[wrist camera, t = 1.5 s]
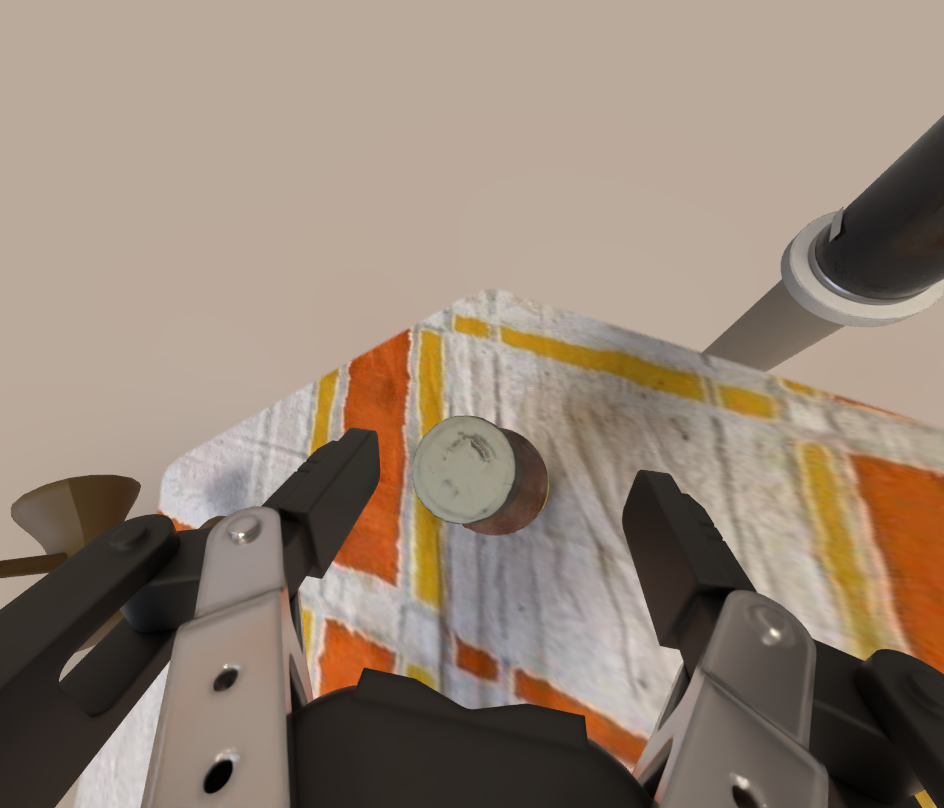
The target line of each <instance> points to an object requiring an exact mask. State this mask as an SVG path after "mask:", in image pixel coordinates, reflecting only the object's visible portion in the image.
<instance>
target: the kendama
mask: <svg viewBox="0 0 944 808" xmlns="http://www.w3.org/2000/svg"><path fill="white" fill-rule="evenodd" d="M140 488H141V485H140V483H139V482H137V481H136V480H134V479H133V478H129V477H123V476H117V475H88V476H81V477H73V478H68V479H64V480H60V481H57V482H53V483H50V484H46V485H44V486H41V487H39V488H37V489H35V490H33V491H31V492H29V493H26V494H24V495H23V496H22V497H20V498H19V499H18V500H17V501H16V502H15V503H14V504H12V507H11V516H12V518H13V520H14V521H15V522H16V523H17V524H18V525H19V526H20V527H22V528H23V529H24V530H25V531H26V532H28V533H29V534H30V535H31V536H32V537H34V538H35V539H36V540H37V541H38V542H39V543H40V544H41V545H42V547H43V548H44V549H45V552H46V554H47V555H43V556H35V557H27V558H19V559H11V560H3V561H0V578H6V577H15V576H25V575H34V574H43V573H50V572H51V571H53V570H54V569H55V568H57V567H58V566H59V565H61V564H62V563H63V562H65V561H66V560H67V559H69V558H70V557H71V556H73V555H74V554H75V553H77V552H78V551H79V550H81V549H82V548H83V547H85V546H86V545H87V544H89V543H90V542H91V541H93V540H94V539H95V538H97V537H98V536H99V535H101V534H102V533H104V532H105V531H107V530H108V529H110V528H112V527H114V526H116V525H118V524H120V523H122V522H124V521H125V518H126V516H127V514H128V513H129V511H130V509H131V507H132V506H133V504H134V503H135V501H136V499H137V497H138V494H139V491H140ZM226 517H227V516H217V517H214V518H212V519H209V520H208V521H206V522H205V523H204V524H203V525H202V526H201V527H200V528H199V529H206V528H214V527H215V526H216V525H217V524H218V523H219V522H220V521H221V520H223V519H224V518H226ZM123 618H124V615H123V614H122V612H121V611H120V609H119V610H118V611H117V612H116V613H115V614H114V615H113V616H112V617H111V618H110V619H109V620H108V621H107V622H106V623H105V624H104V625H103V626H102V627H101V628H100V629H99V630H97V631H96V632H95V633H94V634H93V635H92V636H91V637H90V638H89V639H88V640H87V641H86V642H85V643H84V644H83V645H82V646H81V647H80V648H79V649H78V650H77V651H76V652H78V651H81V650H84V649H86V648H89V647H92V646H94V645H96V644H98V643H99V642H100V641H101V640H102V639H103V638H104V637H105V636H106V635H107V634H108V633H109V632H110V631H111V630H112V629H113V628H114V627H115V626H116V625H117V624H118V623H119V622H120V621H121V620H122V619H123Z"/></svg>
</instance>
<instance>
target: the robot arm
mask: <svg viewBox="0 0 944 808" xmlns="http://www.w3.org/2000/svg"><path fill="white" fill-rule="evenodd" d="M808 263H809V266H810V269H811V271H812V273H813V275H814V276H815V278H816V279H817V280H818V281H819V282H820V283H821V284H822V285H823V286H824V287H825V288H827V289H828V290H829V291H831V292H832V293H834V294H836V295H838V296H840V297H842V298H844V299H847V300H850V301H853V302H857V303H861V304H867V305H891V304H897V303H901V302H904V301H907V300H910V299H912V298H914V297H916V296H917V295H919V294H921V293H923V292H925V291H926V290H928V289H929V288H930V287H931V286H933V285H935V284H936V283H938V282H940V281H942V280H944V115H943V116H942V117H941V118H940V119H939V120H938V121H937V122H936V123H935V124H934V125H933V126H932V127H931V128H930V129H929V130H928V131H927V132H926V133H925V134H924V135H922V136H921V137H920V138H919V139H918V140H917V141H916V142H915V143H914V144H913V145H912V146H911V147H910V148H909V149H908V150H907V151H906V152H905V153H904V154H903V155H902V156H901V157H899V159H897V160H896V161H895V162H894V163H893V164H892V165H891V166H890V167H889V168H888V169H887V170H886V171H885V172H884V173H883V174H882V175H881V176H880V177H879V178H878V179H877V180H875V182H873V183H872V184H871V185H870V186H869V187H868V188H867V189H866V190H865V191H864V192H863V193H862V194H861V195H860V196H859V197H858V198H857V199H855V200H854V201H853V202H852V203H851V204H850V205H849V206H848V207H847V208H846V209H845V210H844V211H843V207H842V208H841V209H840V210H839V211H838V212H837V213H836V214H835V215H834V216H833V220H832V222H831V223H830V224H828V225H827V226H826V227H825V228H823V229H822V230H821V231H820V232H819V233H818V234H817V235H816V236H815V237H814V239H813V240H812V242H811V244H810V246H809V250H808ZM379 478H380V458H379V445H378V435H377V432H376V431H373V430H366V429H359V428H350V429H349V430H348V431H347V432H346V433H345V434H344V435H343V437H342V438H341V439H340V440H339V441H331V442H329V443H327V444H326V445H324V446H322V447H320V448H318V449H317V450H316V451H315V452H314V453H313V454H312V455H311V456H310V457H309V458H308V459H307V461H306V462H304V463H303V464H302V465H301V466H300V467H299V468H298V471H297V472H296V471H295V472H294V473H293V474H292V475H291V476H290V477H289V478H288V479H287V480H286V481H285V482H284V484H283V485H282V486H281V487H280V488H279V489H278V490H277V491H276V492H275V493H274V494H273V495H272V496H271V497H270V498H269V499H268V500H267V501H266V502H265V503H264V504H263V505H262V506H261V507H250V508H246V509H243V510H240V511H237V512H235V513H233V514H231V515H229V516H227V517H226V518H224V519H223V520H221V521H220V522H219V523H218V524H217V525H216V526H215V527H214V528H206V529H195V530H185V531H176V529H175V526H174V524H173V522H172V520H171V519H170V518H169V517H167V516H165V515H158V514H153V515H144V516H140V517H136V518H133V519H130V520H127V521H124V522H122V523H120V524H118V525H116V526H114V527H112V528H110V529H108V530H107V531H105V532H104V533H102V534H101V535H99V536H98V537H97V538H95V539H94V540H93V541H91V542H90V543H89V544H87V545H86V546H85V547H83V548H82V549H81V550H79V551H78V552H77V553H75V554H74V555H73V556H71V557H70V558H69V559H67V560H66V561H65V562H63V563H62V564H61V565H59V566H58V567H57V568H55V569H54V570H53V571H51V572H50V573H49V574H47V575H46V576H45V577H43V578H42V579H41V580H39V581H38V582H37V583H35V584H34V585H33V586H31V587H30V588H29V589H27V590H26V591H25V592H23V593H22V594H21V595H19V596H18V597H17V598H15V599H14V600H13V601H12V602H10V603H9V604H7V605H6V606H5V607H3V608H2V609H1V610H0V808H55V807H56V805H57V804H58V803H59V801H60V800H61V799H62V798H63V796H64V795H65V794H66V793H67V791H68V790H69V789H70V787H71V786H72V785H73V784H74V782H75V781H76V780H77V778H78V777H79V776H80V775H81V773H82V772H83V771H84V770H85V768H86V767H87V766H88V764H89V763H90V762H91V761H92V759H93V758H94V757H95V755H96V754H97V753H98V752H99V750H100V749H101V748H102V747H103V745H104V744H105V743H106V741H107V740H108V739H109V738H110V736H111V735H112V734H113V732H114V731H115V730H116V729H117V727H118V726H119V725H120V724H121V722H122V721H123V720H124V718H125V717H126V716H127V715H128V713H129V712H130V711H131V709H132V708H133V707H134V706H135V704H136V703H137V702H138V701H139V699H140V698H141V697H142V695H143V694H144V693H145V692H146V690H147V689H148V688H149V686H150V685H151V684H152V683H153V681H154V680H155V679H156V678H157V676H158V675H159V674H160V672H161V671H162V670H163V669H164V667H165V666H166V665H167V663H168V662H169V661H170V665H169V670H168V675H167V680H166V685H165V690H164V695H163V700H162V705H161V710H160V715H159V720H158V725H157V730H156V735H155V739H154V744H153V749H152V754H151V759H150V764H149V769H148V774H147V779H146V784H145V789H144V794H143V799H142V804H141V808H922V807H921V805H920V804H919V802H918V801H917V799H916V797H915V796H914V795H915V794H917V793H919V792H921V791H923V790H926V791H927V793H928V794H929V796H930V797H931V799H932V800H933V802H934V803H935V805H936V806H937V808H944V674H942V673H941V672H939V671H938V670H936V669H935V668H933V667H931V666H930V665H928V664H926V663H924V662H923V661H921V660H919V659H916V658H914V657H912V656H910V655H907V654H905V653H902V652H899V651H895V650H890V649H881V650H878V651H876V652H875V653H874V654H872V655H871V656H870V657H869V658H868V659H867V660H866V661H863V660H861V659H859V658H856V657H854V656H852V655H849V654H847V653H845V652H842V651H840V650H838V649H835V648H833V647H831V646H828V645H826V644H824V643H821V642H819V641H817V640H815V639H813V638H812V637H811V635H810V634H809V632H808V631H807V629H806V628H805V627H804V626H803V625H802V623H801V622H800V621H799V620H798V619H797V618H796V617H795V616H794V615H793V614H791V613H790V612H789V611H788V610H787V609H785V608H784V607H783V606H781V605H780V604H778V603H777V602H775V601H773V600H772V599H770V598H768V597H766V596H764V595H761V594H759V593H757V591H756V590H755V588H754V586H753V585H752V583H751V582H750V580H749V579H748V577H747V575H746V574H745V572H744V571H743V569H742V567H741V566H740V564H739V563H738V561H737V560H736V558H735V556H734V555H733V553H732V552H731V550H730V548H729V547H728V545H727V544H726V542H725V541H723V540H722V539H723V537H722V536H721V534H720V533H719V531H718V529H717V528H715V527H714V523H713V522H712V520H711V518H710V517H709V515H708V514H707V512H706V510H705V509H704V508H703V507H702V506H701V505H700V504H699V503H697V502H696V501H695V500H694V499H693V498H692V497H691V496H690V495H689V494H684V493H681V491H680V490H679V488H678V486H677V484H676V483H675V481H674V479H673V478H672V476H671V475H670V474H668V473H661V472H654V471H647V470H639V471H638V473H637V474H636V477H635V479H634V482H633V485H632V488H631V490H630V493H629V496H628V498H627V501H626V504H625V506H624V510H623V516H622V524H623V530H624V533H625V536H626V540H627V543H628V546H629V549H630V552H631V556H632V559H633V562H634V565H635V568H636V571H637V575H638V578H639V581H640V584H641V587H642V590H643V594H644V597H645V600H646V603H647V606H648V609H649V613H650V616H651V619H652V622H653V625H654V629H655V632H656V635H657V638H658V641H659V644H660V646H663V647H668V648H673V649H678V650H680V653H681V655H682V658H683V661H684V662H683V663H682V665H681V666H680V668H679V670H678V672H677V675H676V677H675V680H674V682H673V684H672V687H671V689H670V692H669V694H668V696H667V699H666V701H665V704H664V706H663V708H662V711H661V713H660V716H659V718H658V721H657V723H656V725H655V728H654V730H653V733H652V735H651V737H650V739H649V741H648V743H647V745H646V747H645V749H644V751H643V753H642V755H641V756H640V758H639V760H638V762H637V764H636V766H635V768H634V770H633V772H632V774H631V773H630V772H629V771H628V770H627V768H626V767H625V766H624V765H623V764H622V763H621V762H619V761H618V760H617V759H616V758H615V757H614V756H613V755H612V754H611V753H610V752H608V751H607V750H606V749H604V748H603V747H601V746H600V745H599V744H597V743H596V742H595V741H593V740H591V739H589V738H588V737H587V732H586V723H585V716H582V715H578V714H573V713H569V712H564V711H560V710H555V709H551V708H546V707H541V706H537V705H532V704H518V705H509V706H500V707H491V708H482V709H467V708H464V707H462V706H461V705H459V704H457V703H455V702H454V701H452V700H450V699H449V698H447V697H445V696H444V695H442V694H440V693H439V692H437V691H435V690H433V689H432V688H430V687H428V686H427V685H425V684H423V683H422V682H420V681H418V680H417V679H414V678H409V677H405V676H400V675H396V674H391V673H386V672H382V671H377V670H373V669H368V668H364V669H363V671H362V674H361V677H360V679H359V682H358V685H356V686H349V687H345V688H341V689H337V690H334V691H332V692H329V693H327V694H324V695H322V696H320V697H318V698H316V699H314V700H313V694H312V688H311V682H310V677H309V672H308V665H307V658H306V648H305V638H304V628H303V618H302V608H301V598H300V591H299V587H300V585H301V584H302V582H303V580H304V579H305V577H306V576H310V577H315V578H320V579H322V578H323V576H324V575H325V573H326V571H327V570H328V568H329V566H330V565H331V563H332V561H333V560H334V558H335V556H336V555H337V553H338V551H339V550H340V548H341V546H342V545H343V543H344V541H345V540H346V538H347V536H348V535H349V533H350V531H351V530H352V528H353V526H354V525H355V523H356V521H357V520H358V518H359V516H360V515H361V513H362V511H363V509H364V508H365V506H366V504H367V503H368V501H369V499H370V498H371V496H372V494H373V493H374V491H375V489H376V487H377V485H378V482H379ZM119 609H120V611H121V612H122V614H123V615H124V618H123V619H122V620H121V621H120V622H119V623H118V624H117V625H116V626H115V627H114V628H113V629H112V630H111V631H110V632H109V633H108V634H107V635H106V636H105V637H104V638H103V639H102V640H101V641H100V642H99V643H98V644H97V645H96V646H95V647H94V648H93V649H92V650H91V651H90V652H89V653H88V654H87V655H86V656H85V657H84V658H83V659H82V660H81V661H80V662H79V663H78V664H77V665H76V666H75V667H74V668H73V669H72V670H71V671H70V672H69V673H68V674H67V675H66V676H65V677H64V678H63V679H62V680H61V681H60V682H59V677H60V674H61V671H62V669H63V668H64V666H65V664H66V663H67V661H68V660H69V659H70V657H71V656H72V655H73V654H74V653H75V652H76V651H77V650H78V649H79V648H80V647H81V646H82V645H83V644H84V643H85V642H86V641H87V640H88V639H89V638H90V637H91V636H92V635H93V634H94V633H95V632H96V631H97V630H99V629H100V628H101V627H102V626H103V625H104V624H105V623H106V622H107V621H108V620H109V619H110V618H111V617H112V616H113V615H114V614H115V613H116V612H117V611H118V610H119Z"/></svg>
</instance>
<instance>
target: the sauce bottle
mask: <svg viewBox="0 0 944 808" xmlns="http://www.w3.org/2000/svg"><path fill="white" fill-rule="evenodd" d="M412 480H413V483H414V488H415V491H416V493H417V495H418V497H419V499H420V500H421V502H422V504H423V505H424V506H425V507H426V508H427V509H428V510H429V511H430V512H431V513H432V514H433V515H434V516H435V517H438V518H440V519H442V520H444V521H446V522H450V523H455V524H462V525H463V526H464V527H465V528H468V529H471V530H472V531H475V532H478V533H482V534H486V535H492V536H493V535H495V536H496V535H503V534H509V533H513V532H515V531H517V530H520V529H522V528H524V527H525V526H527V525H528V524H530V523H531V522H532V521H533V520H534V519H535V518H536V517H537V516H538V515H539V513H540V512H541V511H542V510H543V508H544V506H545V504H546V501H547V498H548V491H549V482H548V475H547V470H546V466H545V464H544V461H543V459H542V457H541V456H540V454H539V452H538V451H537V450H536V448H535V447H534V446H533V445H532V444H531V443H530V442H529V441H528V440H527V439H526V438H524V437H523V436H521V435H519V434H518V433H516V432H513V431H511V430H508V429H503V428H498V427H497V426H496V425H494V424H493V423H491V422H489V421H487V420H485V419H483V418H479V417H475V416H455V417H451V418H448V419H445V420H443V421H442V422H440V423H438V424H436V425H435V426H434V427H433V428H432V429H431V430H430V431H429V432H428V433H427V434H426V435H425V436H424V437H423V438H422V440H421V442H420V444H419V446H418V448H417V450H416V453H415V456H414V460H413V471H412Z"/></svg>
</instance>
